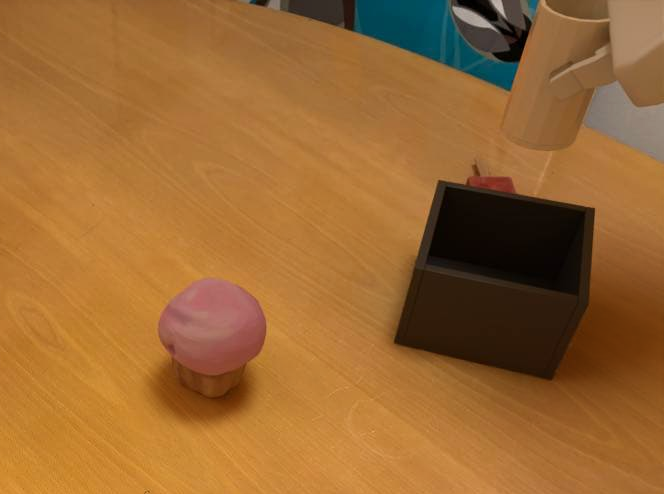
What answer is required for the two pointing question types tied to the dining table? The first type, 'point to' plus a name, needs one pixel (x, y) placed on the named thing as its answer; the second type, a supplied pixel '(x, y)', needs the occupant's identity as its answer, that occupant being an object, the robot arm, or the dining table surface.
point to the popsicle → (489, 179)
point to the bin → (499, 279)
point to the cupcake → (212, 334)
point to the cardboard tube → (541, 60)
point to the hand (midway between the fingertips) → (552, 66)
